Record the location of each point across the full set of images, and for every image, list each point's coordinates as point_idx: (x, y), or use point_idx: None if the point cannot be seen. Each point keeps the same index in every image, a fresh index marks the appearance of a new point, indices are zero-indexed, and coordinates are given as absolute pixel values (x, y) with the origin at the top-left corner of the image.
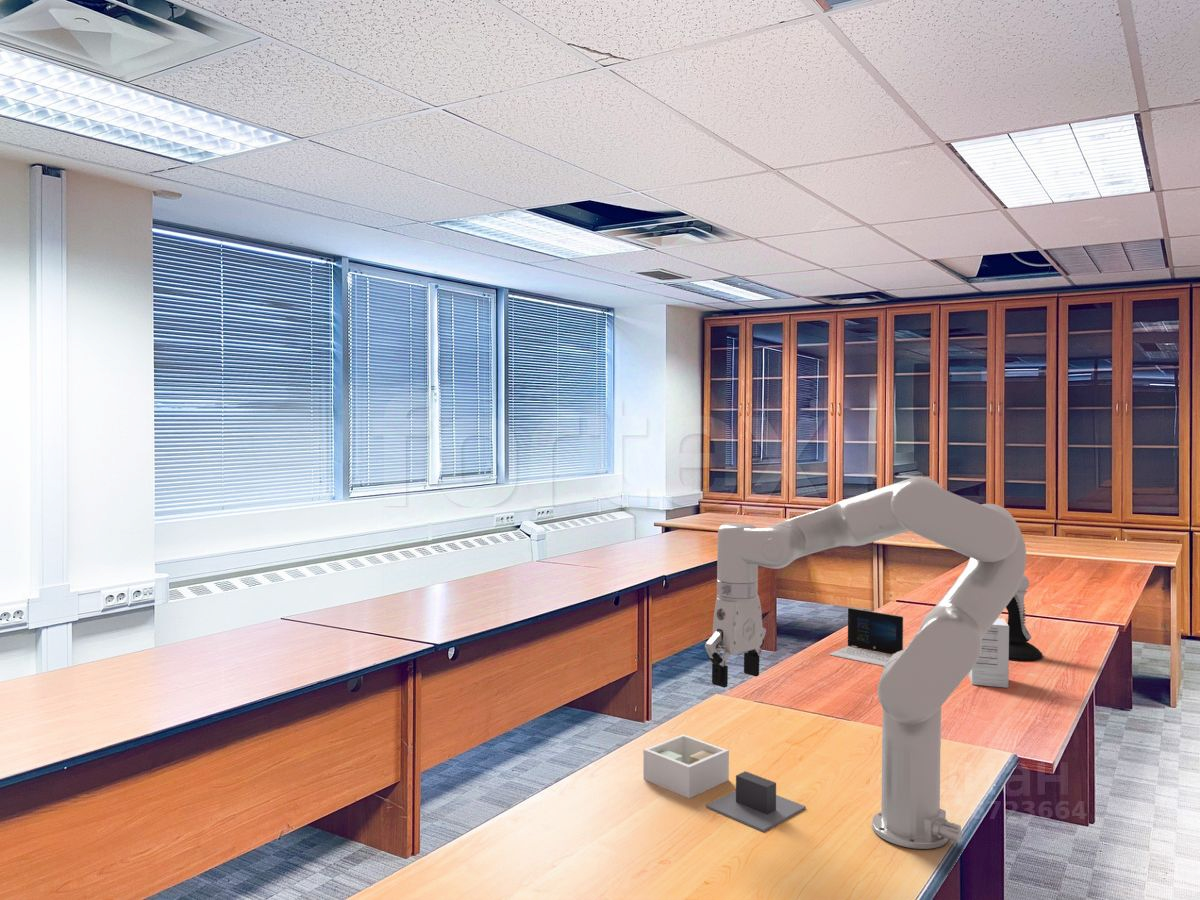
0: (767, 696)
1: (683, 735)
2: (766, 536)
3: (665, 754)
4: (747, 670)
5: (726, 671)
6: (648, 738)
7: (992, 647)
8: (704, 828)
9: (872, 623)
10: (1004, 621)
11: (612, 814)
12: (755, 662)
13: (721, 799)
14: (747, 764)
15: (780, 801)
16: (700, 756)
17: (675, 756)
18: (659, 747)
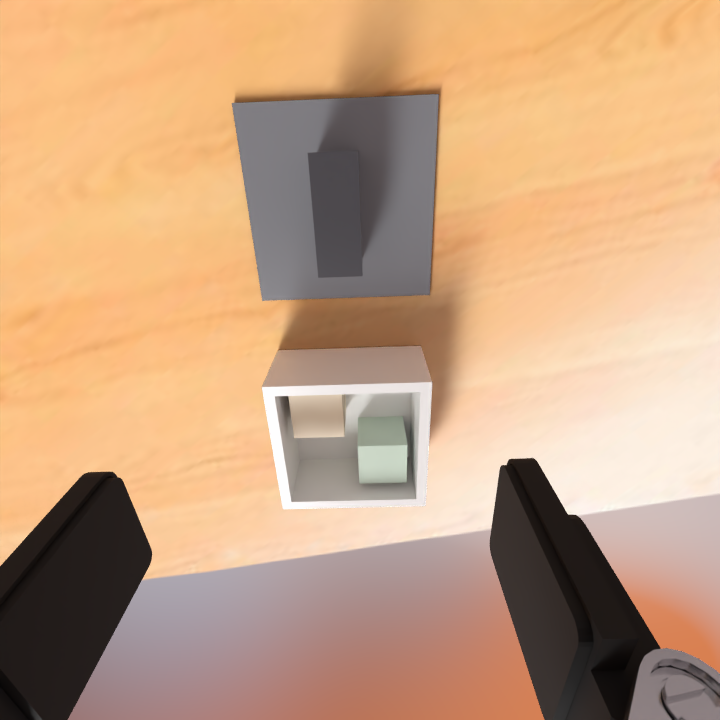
0: None
1: (288, 504)
2: None
3: (382, 472)
4: (132, 556)
5: (594, 573)
6: (269, 558)
7: None
8: (521, 222)
9: None
10: None
11: (588, 394)
12: (44, 585)
13: (378, 290)
14: (178, 375)
15: (268, 178)
16: (325, 419)
17: (373, 453)
18: (379, 496)
